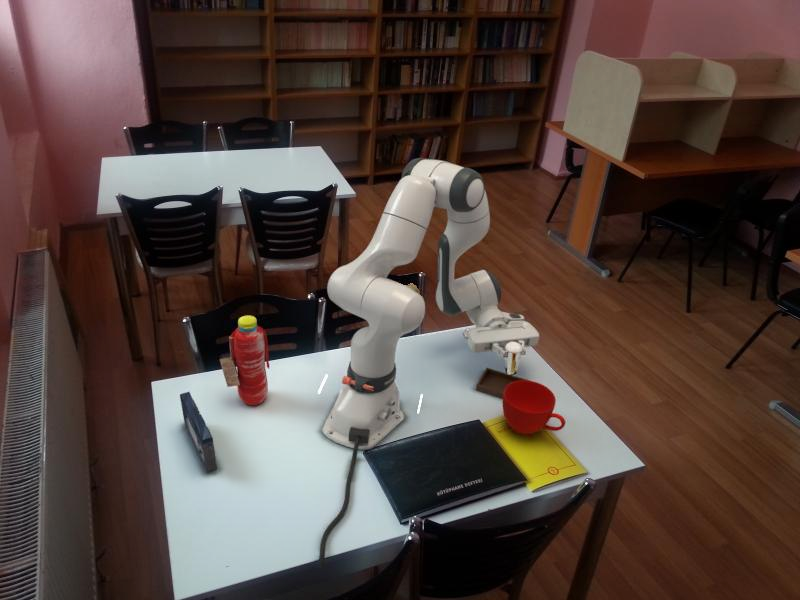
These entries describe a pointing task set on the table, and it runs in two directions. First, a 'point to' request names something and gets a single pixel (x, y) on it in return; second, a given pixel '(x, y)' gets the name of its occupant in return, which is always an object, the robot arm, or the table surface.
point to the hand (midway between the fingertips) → (514, 354)
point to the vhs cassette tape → (198, 432)
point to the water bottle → (247, 361)
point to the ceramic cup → (529, 407)
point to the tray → (495, 382)
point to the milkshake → (512, 357)
